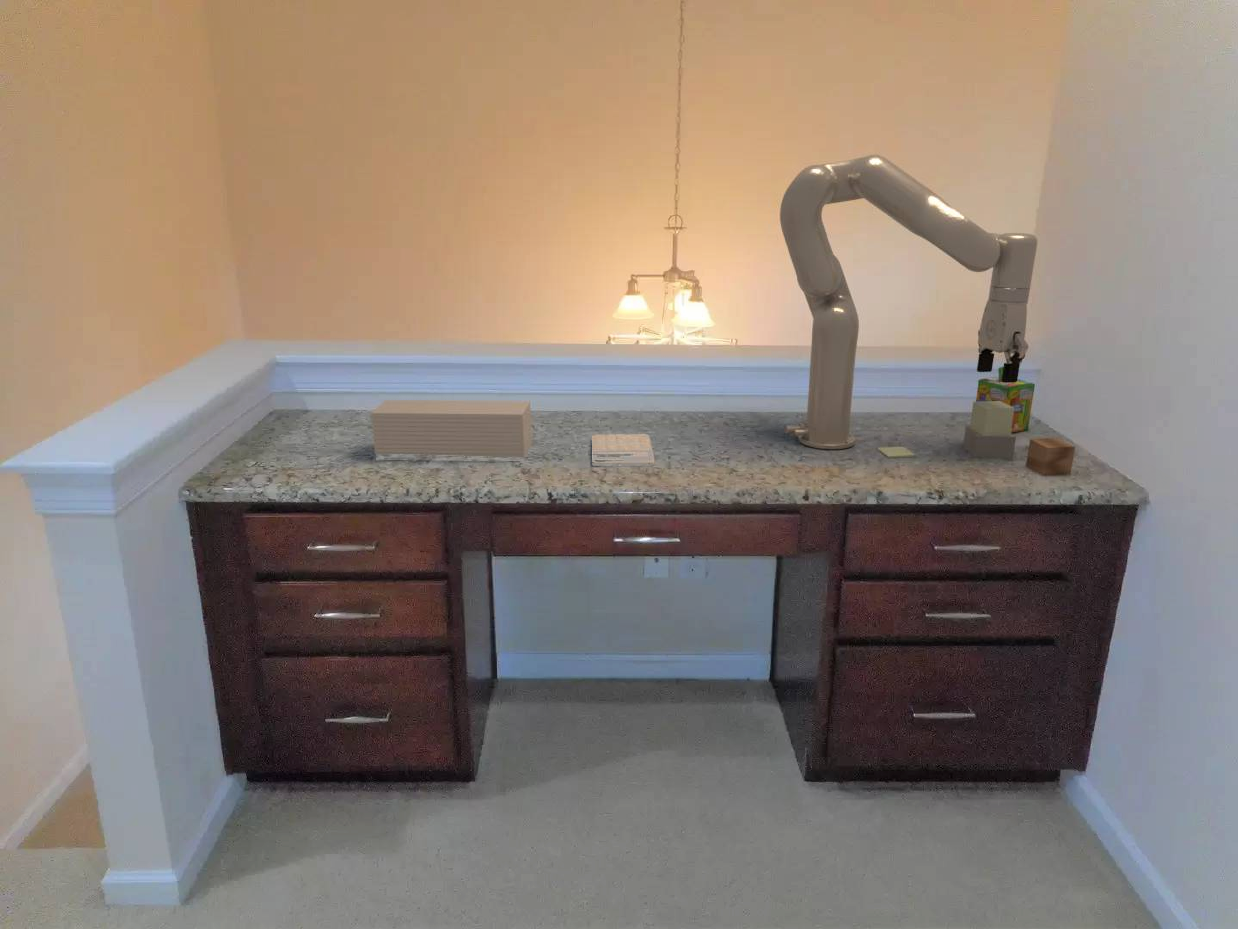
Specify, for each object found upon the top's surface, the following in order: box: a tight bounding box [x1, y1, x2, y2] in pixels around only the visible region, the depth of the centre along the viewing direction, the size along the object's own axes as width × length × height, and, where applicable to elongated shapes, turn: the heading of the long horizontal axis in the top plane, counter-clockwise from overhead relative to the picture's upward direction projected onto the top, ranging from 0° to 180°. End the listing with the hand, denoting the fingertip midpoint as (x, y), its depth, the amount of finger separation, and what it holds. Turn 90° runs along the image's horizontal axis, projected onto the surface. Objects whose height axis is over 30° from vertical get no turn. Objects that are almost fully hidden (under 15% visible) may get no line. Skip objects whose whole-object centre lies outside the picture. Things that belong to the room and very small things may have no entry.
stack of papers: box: [370, 399, 533, 458], centre depth 187 cm, size 32×11×11 cm, turn 87°
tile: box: [876, 446, 916, 459], centre depth 188 cm, size 6×6×1 cm
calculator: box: [591, 433, 655, 464], centre depth 189 cm, size 13×20×2 cm, turn 2°
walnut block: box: [1025, 437, 1076, 477], centre depth 176 cm, size 6×6×6 cm
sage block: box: [969, 401, 1014, 436], centre depth 186 cm, size 6×6×6 cm
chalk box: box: [975, 366, 1036, 434], centre depth 204 cm, size 9×9×15 cm
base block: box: [962, 425, 1017, 459], centre depth 188 cm, size 8×8×5 cm
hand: (996, 376), depth 183 cm, fingers open, 9 cm apart
